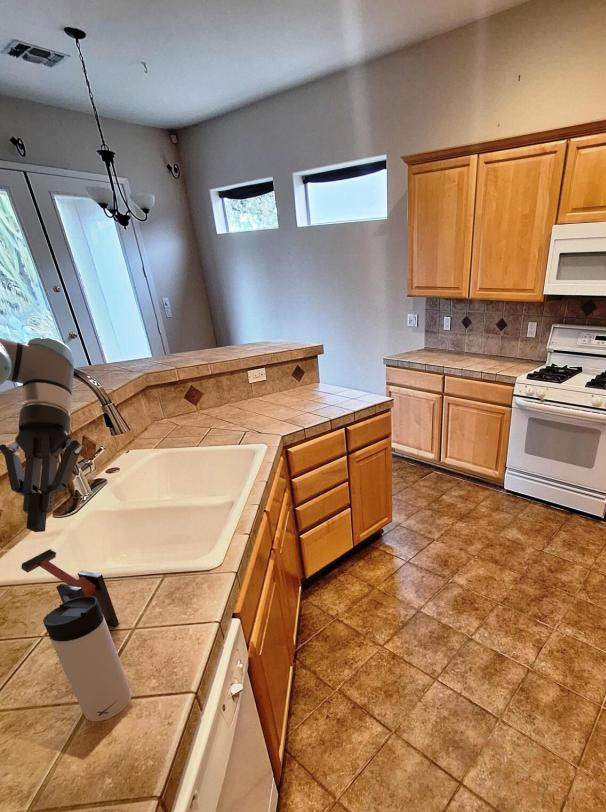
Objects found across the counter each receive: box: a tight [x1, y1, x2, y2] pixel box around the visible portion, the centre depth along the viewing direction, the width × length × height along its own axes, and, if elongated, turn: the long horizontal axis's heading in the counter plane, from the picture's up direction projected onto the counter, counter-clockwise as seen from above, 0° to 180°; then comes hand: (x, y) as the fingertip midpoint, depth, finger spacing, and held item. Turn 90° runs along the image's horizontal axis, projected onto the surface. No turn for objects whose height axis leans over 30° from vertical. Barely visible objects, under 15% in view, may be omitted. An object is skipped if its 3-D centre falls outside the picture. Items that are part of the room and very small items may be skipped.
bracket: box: [55, 570, 120, 628], centre depth 77 cm, size 12×9×13 cm
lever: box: [20, 548, 96, 596], centre depth 75 cm, size 11×5×2 cm, turn 74°
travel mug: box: [42, 596, 133, 722], centre depth 62 cm, size 6×7×20 cm
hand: (35, 529), depth 75 cm, fingers closed
